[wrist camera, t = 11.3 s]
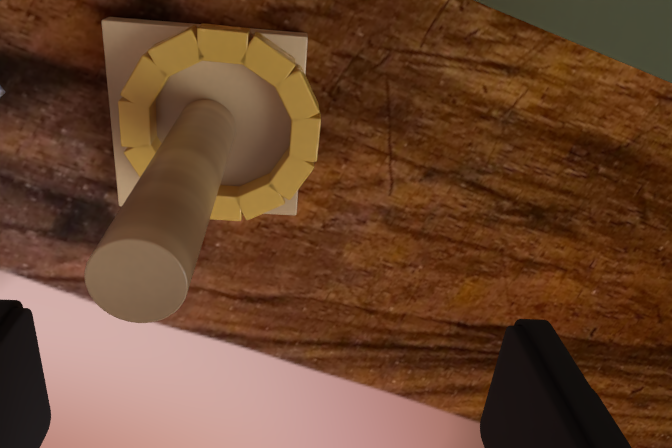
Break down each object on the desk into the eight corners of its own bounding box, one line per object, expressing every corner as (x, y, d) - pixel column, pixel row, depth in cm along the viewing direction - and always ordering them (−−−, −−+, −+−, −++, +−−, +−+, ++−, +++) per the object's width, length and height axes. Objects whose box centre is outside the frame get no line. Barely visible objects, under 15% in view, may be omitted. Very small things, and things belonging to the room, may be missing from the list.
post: (108, 16, 23) (-84, 106, 11) (307, 32, 24) (316, 133, 12) (124, 197, 27) (-9, 404, 15) (296, 206, 27) (295, 410, 16)
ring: (121, 14, 22) (111, 19, 21) (327, 35, 23) (329, 41, 22) (132, 201, 26) (125, 213, 25) (310, 214, 26) (310, 226, 25)
